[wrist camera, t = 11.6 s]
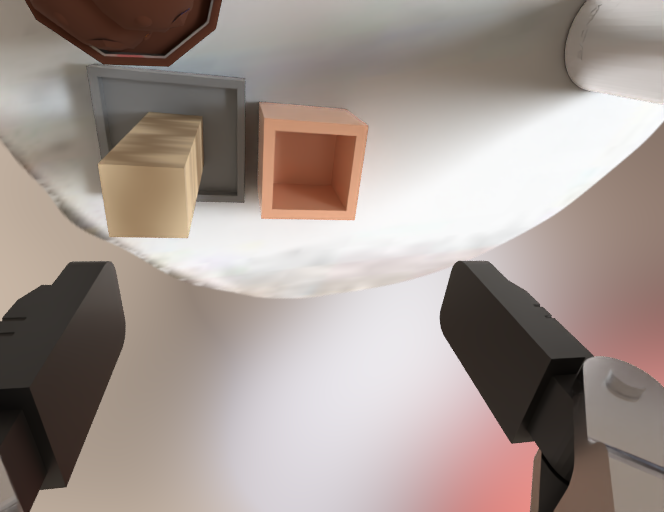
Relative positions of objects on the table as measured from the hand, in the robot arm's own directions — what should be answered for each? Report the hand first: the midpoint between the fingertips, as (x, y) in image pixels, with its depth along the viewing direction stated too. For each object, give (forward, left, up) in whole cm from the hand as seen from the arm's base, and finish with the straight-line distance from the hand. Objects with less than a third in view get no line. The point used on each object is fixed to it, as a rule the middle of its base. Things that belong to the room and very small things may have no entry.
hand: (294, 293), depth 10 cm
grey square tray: (+6, +3, -28) cm, 29 cm away
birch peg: (+6, +3, -27) cm, 28 cm away
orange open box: (-4, +4, -28) cm, 29 cm away
